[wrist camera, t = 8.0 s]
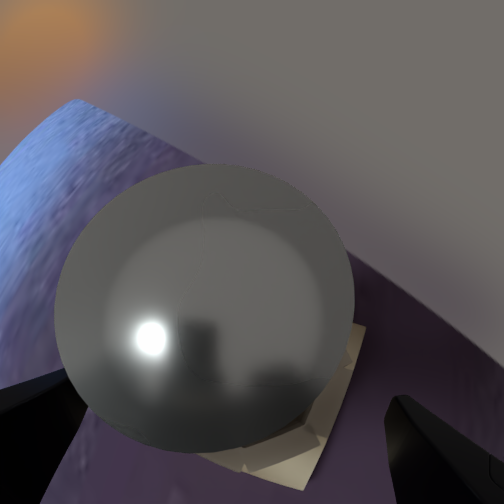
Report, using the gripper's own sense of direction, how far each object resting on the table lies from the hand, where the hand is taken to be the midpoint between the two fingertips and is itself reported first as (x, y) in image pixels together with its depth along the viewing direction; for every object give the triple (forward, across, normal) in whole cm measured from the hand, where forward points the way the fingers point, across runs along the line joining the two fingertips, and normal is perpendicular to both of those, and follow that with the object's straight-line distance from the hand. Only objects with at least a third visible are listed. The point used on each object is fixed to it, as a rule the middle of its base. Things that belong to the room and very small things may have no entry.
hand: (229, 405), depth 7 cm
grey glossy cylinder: (+6, 0, +4) cm, 8 cm away
